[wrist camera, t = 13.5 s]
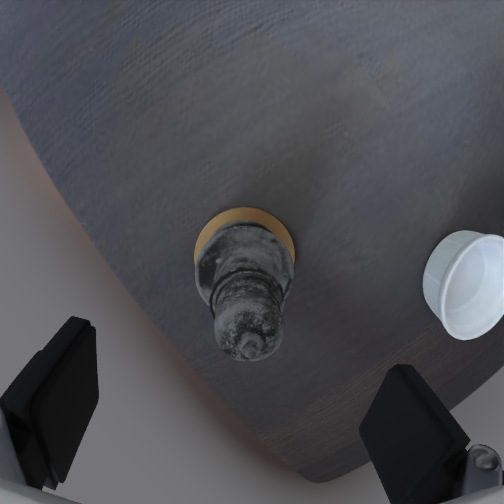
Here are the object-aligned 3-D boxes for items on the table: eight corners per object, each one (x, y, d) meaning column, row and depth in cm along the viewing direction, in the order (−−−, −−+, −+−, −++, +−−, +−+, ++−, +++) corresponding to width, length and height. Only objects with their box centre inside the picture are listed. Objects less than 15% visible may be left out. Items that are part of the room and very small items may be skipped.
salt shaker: (298, 276, 23) (352, 378, 12) (224, 309, 24) (217, 431, 12) (264, 201, 22) (297, 247, 10) (185, 238, 22) (136, 320, 10)
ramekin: (417, 331, 26) (440, 356, 22) (411, 237, 23) (441, 252, 19) (487, 300, 26) (513, 318, 21) (487, 214, 23) (519, 224, 19)
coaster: (188, 291, 24) (187, 295, 23) (204, 197, 22) (203, 199, 21) (280, 308, 24) (281, 311, 24) (303, 218, 23) (305, 219, 22)
